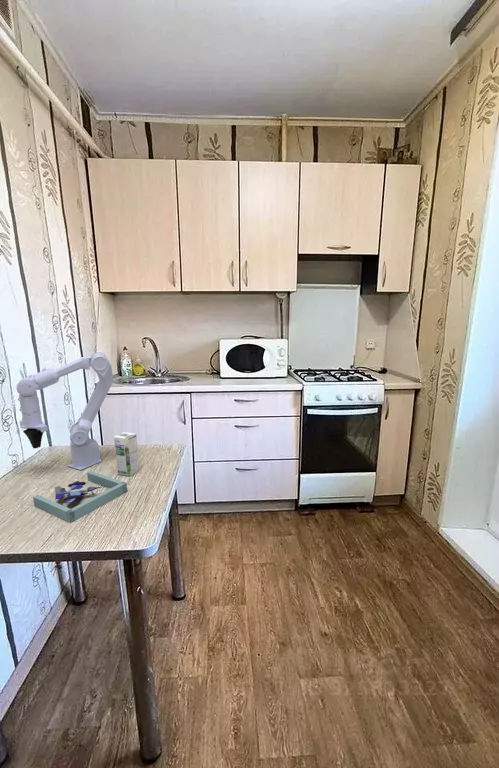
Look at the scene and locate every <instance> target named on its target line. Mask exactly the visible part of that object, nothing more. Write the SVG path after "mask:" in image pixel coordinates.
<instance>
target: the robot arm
mask: <svg viewBox="0 0 499 768" xmlns="http://www.w3.org/2000/svg"><path fill="white" fill-rule="evenodd" d="M91 369H92V370H93V371H94V372H95V373H96V375H97V377H98V381H97V384H96V386H95V387H94V389H93V392H92V394H91V396H90V398H89V399H88V402H87V404H86V405H85V408H83V411H82V413H81V415H80V416H79V418H78V419H77V421H76V422H75V423H74V424H72V426H71V427H70V429H69V430H70V436H69V441H70V442H69V444H70V454H71V460H72V463H69V464H68V465H67V467H69V468H72V469H76V470H78V471H82V470H84V469H87V468H89V467H91V466H94V465H96V464H98V463H99V464H100V462H102V461H103V460H102V459H101V455H100V445H99V443H98V441H97V440H96V439H94V438H90V437H89V436H90V435H89V434H90V432H91V429H92V425H93V422H94V420H95V418H96V417H97V415H98V413H99V410H100V409H101V408H102V405H103V403H104V401H105V399H106V397H107V395H108V393H109V391H110V389H111V387H112V385H113V383H114V380H115V379H114V374H113V369H112V364H111V362H110V360H109V359H108V357H107V356H106V355H105V354H104V353H103V352H99V351H96V352H93V353H92V354H87V355H85V356H82V357H79V358H77V359H75V360H72V361H70V362H68V363H66V364H64V365H61V366H60V367H58V368H56V369H55V368H51V367H49V368H46V367H44V368H41V371H39V372H37V373H34V374H29V375H28V376H27V377H24V378H22V379H20V380H19V382H18V383H17V384H16V392H17V393H18V394H19V397H18V398H19V405H20V411H21V416H22V417H21V418H22V420H20V421H19V427H20V429H22V430H23V429H24V430H23V431H22V432H23V433H24V435H25V436H26V437H27V438H28V439H27V440H28V441H29V442H30V444H31V447H32V449H35V450H36V449H38V448H41V446H42V441H43V439H42V438H43V434H44V433H45V432H49V429H48V425H46V424H45V423H44V422H43V420H42V413H41V408H40V407H41V405H40V401H39V399H40V398H39V397H38V391H41V390H43V389H45V388H48V387H50V386H52V385H54V384H57V383H59V380H60V378H62V377H65V376H66V375H69V374H72V373H74V372H76V371H79V370H88V371H90V370H91Z"/></svg>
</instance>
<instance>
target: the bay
mask: <svg viewBox="0 0 499 768" xmlns="http://www.w3.org/2000/svg"><path fill="white" fill-rule="evenodd" d="M86 476H87V477H86V478H87V481H88V482H91V483H94V484H97V485H99V486H101V487H103V488H108V489H107V490H105V491H103V492H101V493H99V494H97V495H96V496H95V495H94V496H92V498H89V499H88V500H86V501H84V502H81V503H80V504H78V505H76V506H74V507H72V508H69V507H68V506H64V505H62V504H61V503H58V502H56V501H53V500H52V499H50V498H49V499H48V498H47V497H44V496H42V495H41V494H40V495H39V494H36V495H34V496H32V499H33V500H32V501H33V505H34V507H36V508H39V509H41V510H43V511H45V512H46V513H49V514H51V515H53V516H56V517H57V518H60V519H62V520H64V521H66V522H67V523H68V522H69V523H72V522H75V521H76V520H79V519H80V518H81V517H84V516H86V515H87V514H89V513H91V512H93V511H95V510H96V509H98V508H100V507H102V506H104V505H105V504H107V503H109V502H111V501H113V500H114V499H116V498H118V497H120V496H122V495H123V494H125V493H127V492H128V484H127V482H125V481H121V480H119V479H116V478H113V477H110V476H107V475H104V474H101V473H98V472H95V471H92V470H90V471H87V472H86ZM105 486H107V487H105Z"/></svg>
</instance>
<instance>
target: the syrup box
mask: <svg viewBox="0 0 499 768" xmlns="http://www.w3.org/2000/svg"><path fill="white" fill-rule="evenodd" d="M137 437H138V436H137V433H133V432H126V431H123V432H120V433H118V434H116V435H115V436H113V441H114V450H115V452H114V453H115V459H116V469H117V470H116V471H117V472H116V473H117V475H120V476H121V475H122V476H127V477H131V476H133V475H134V474H135V473H137V472H138V471H140V469H141V468H140V461H139V460H140V459H139V449H138V438H137Z"/></svg>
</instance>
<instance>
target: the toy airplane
mask: <svg viewBox="0 0 499 768" xmlns="http://www.w3.org/2000/svg"><path fill="white" fill-rule="evenodd" d="M86 484H87V482H86V481H79V480H78V481H77V480H76V481H73V482H72V483H69V484H68V485H67V488H68V487H69V488H70V489H69V490H66V488H65V487H62V486H54V491H55V493H54V494H55V499H54V500H55V501H56V500H61V499H62V498H63V496H64V495H65V496H66V497H64V498H63V501H64V504H71V503H73V502H74V501H76V500H77V501H78V500H80V499H81V500H82V499H83V497H85V495H87V494H88V493H89V492H91V497H95V493H94V491H95V490H98V489H102V488H103V486H96V485H88V486H86ZM84 486H85V487H84ZM104 488H107V486H105V487H104Z"/></svg>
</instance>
